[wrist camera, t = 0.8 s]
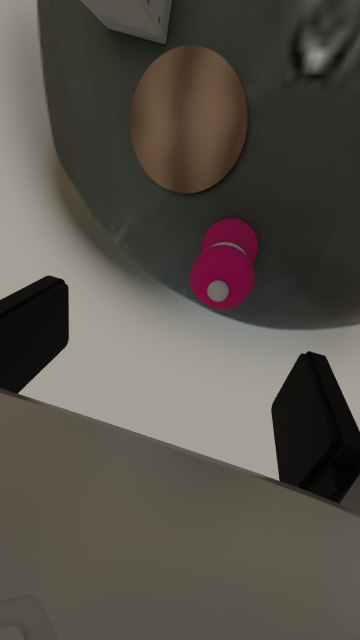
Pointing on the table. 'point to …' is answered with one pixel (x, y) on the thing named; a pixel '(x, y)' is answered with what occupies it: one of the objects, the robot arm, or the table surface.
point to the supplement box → (134, 17)
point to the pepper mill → (225, 264)
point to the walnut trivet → (188, 119)
